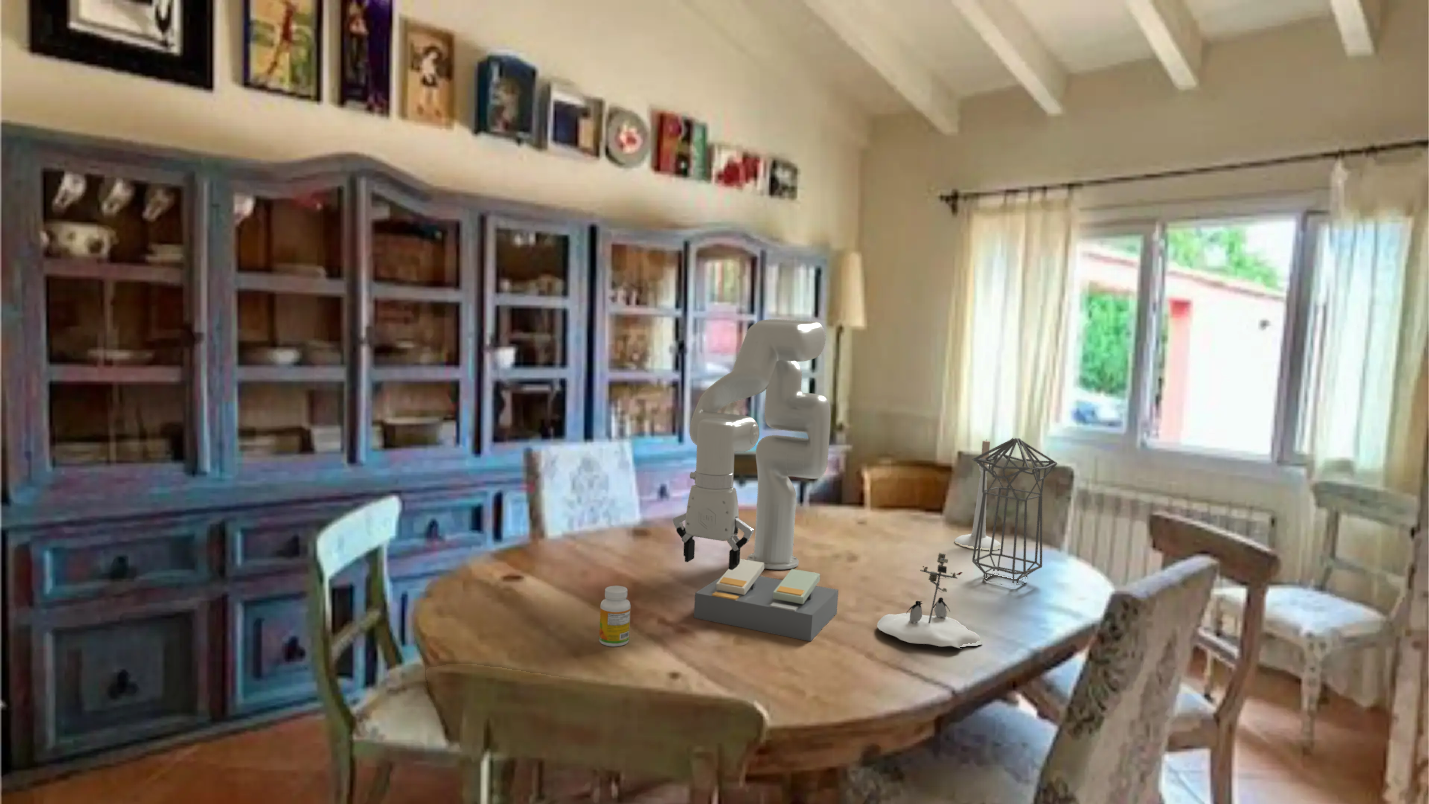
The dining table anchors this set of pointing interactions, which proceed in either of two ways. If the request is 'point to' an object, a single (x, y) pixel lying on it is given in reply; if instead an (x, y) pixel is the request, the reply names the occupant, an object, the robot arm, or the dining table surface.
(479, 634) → the dining table surface
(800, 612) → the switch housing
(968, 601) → the dining table surface
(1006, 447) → the geometric lantern
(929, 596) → the dining table surface
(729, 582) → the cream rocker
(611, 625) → the supplement bottle
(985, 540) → the candlestick
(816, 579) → the sage rocker
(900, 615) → the figurine
